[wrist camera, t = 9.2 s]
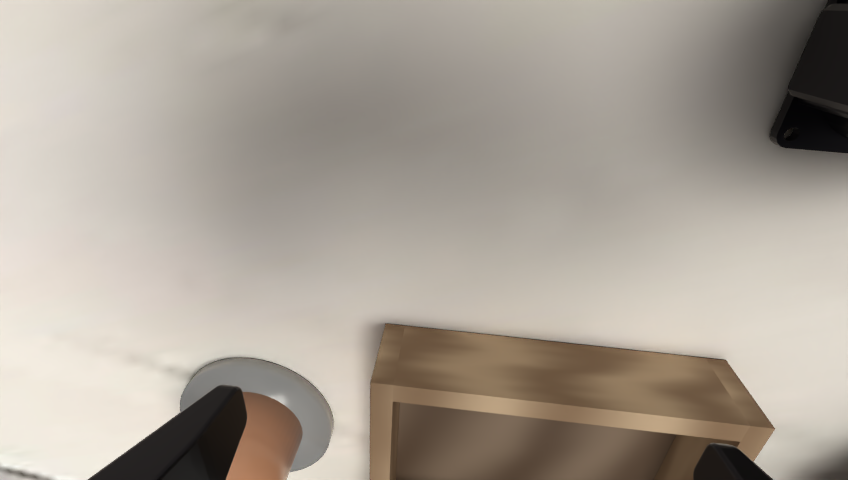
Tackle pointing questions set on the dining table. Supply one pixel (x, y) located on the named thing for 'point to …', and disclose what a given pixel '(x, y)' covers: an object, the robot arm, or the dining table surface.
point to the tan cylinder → (266, 441)
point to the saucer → (277, 386)
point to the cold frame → (548, 410)
